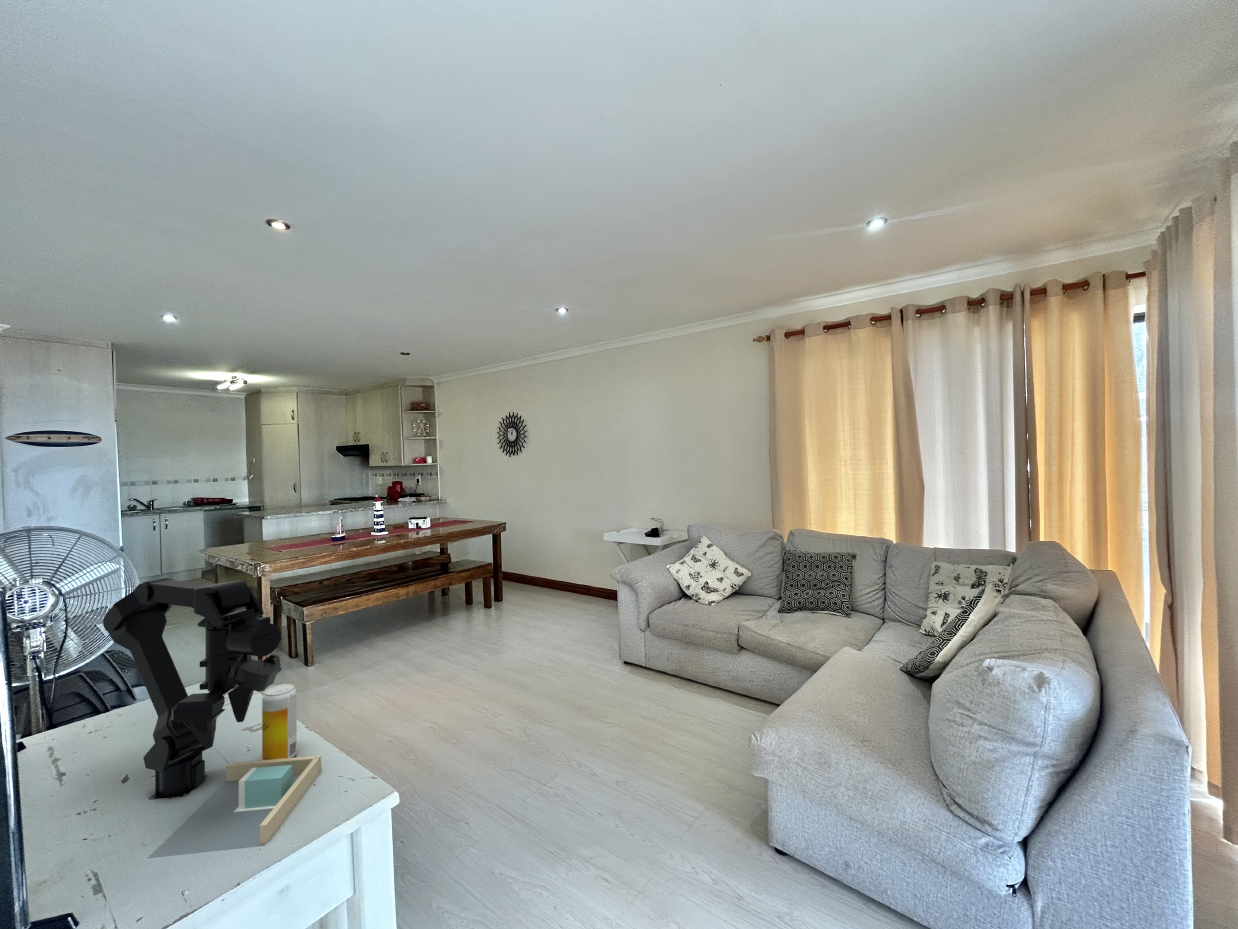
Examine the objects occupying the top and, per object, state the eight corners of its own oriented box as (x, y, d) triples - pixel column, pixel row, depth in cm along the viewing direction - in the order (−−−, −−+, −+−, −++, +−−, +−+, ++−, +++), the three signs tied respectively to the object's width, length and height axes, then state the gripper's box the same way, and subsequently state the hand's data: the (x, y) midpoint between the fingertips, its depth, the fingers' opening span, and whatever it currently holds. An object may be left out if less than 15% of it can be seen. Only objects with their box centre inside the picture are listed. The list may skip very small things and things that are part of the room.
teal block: (280, 805, 91) (280, 777, 91) (238, 809, 90) (238, 781, 90) (292, 791, 95) (292, 764, 95) (251, 795, 94) (251, 768, 94)
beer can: (273, 752, 109) (273, 683, 109) (302, 751, 110) (302, 682, 110) (255, 769, 103) (255, 696, 103) (286, 767, 104) (286, 695, 104)
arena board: (147, 861, 79) (147, 838, 79) (229, 781, 99) (229, 763, 99) (264, 849, 81) (264, 827, 81) (321, 773, 101) (321, 755, 101)
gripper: (242, 667, 85) (242, 759, 85) (296, 632, 104) (296, 707, 103) (169, 671, 84) (169, 765, 83) (237, 635, 102) (238, 711, 102)
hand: (225, 734), depth 93 cm, fingers open, 9 cm apart
